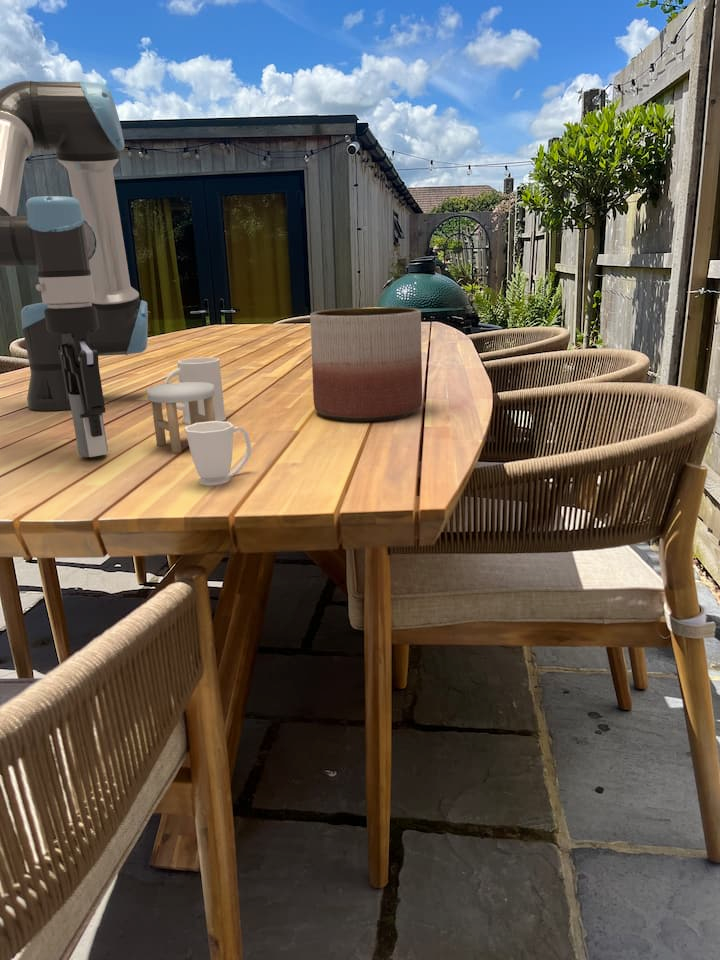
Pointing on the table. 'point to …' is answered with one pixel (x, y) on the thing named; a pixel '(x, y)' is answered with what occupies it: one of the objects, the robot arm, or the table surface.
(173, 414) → the stool
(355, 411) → the planter
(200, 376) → the white ceramic jug
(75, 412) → the grey tube
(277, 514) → the table surface
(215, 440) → the cup
